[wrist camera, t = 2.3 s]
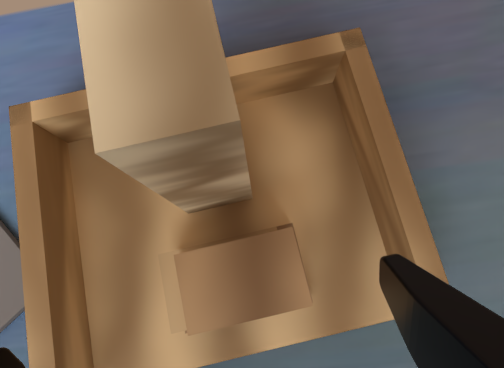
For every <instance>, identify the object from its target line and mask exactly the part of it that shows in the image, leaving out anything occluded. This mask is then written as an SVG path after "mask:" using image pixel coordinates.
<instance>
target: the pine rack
mask: <svg viewBox="0 0 504 368" xmlns="http://www.w3.org/2000/svg"><path fill="white" fill-rule="evenodd" d="M225 59H226V63H227V67H228V71H229V75H230V80H231V84H232V88H233V92H234V96H235V100H236V105H237V109H238V113H239V117H240V122H241V128H242V134H243V140H244V147H245V153H246V159H247V165H248V172H249V178H250V184H251V190H252V197H253V199H249V200H245V201H241V202H236V203H232V204H228V205H224V206H219V207H215V208H211V209H206V210H202V211H198V212H194V213H189V214H188V213H187V212H185V211H184V210H182V209H181V208H179V207H178V206H176V205H174V204H173V203H171V202H170V201H168V200H167V199H165V198H164V197H162V196H160V195H159V194H157V193H156V192H154V191H153V190H151V189H149V188H148V187H146V186H145V185H143V184H142V183H140V182H139V181H137V180H135V179H134V178H132V177H131V176H129V175H128V174H126V173H125V172H123V171H121V170H120V169H118V168H117V167H115V166H114V165H112V164H111V163H109V162H107V161H106V160H104V159H103V158H101V157H100V156H98V155H97V154H95V151H94V144H93V136H92V129H91V122H90V114H89V107H88V100H87V92H86V89H85V90H80V91H76V92H71V93H67V94H63V95H58V96H54V97H49V98H45V99H40V100H36V101H32V102H27V103H23V104H18V105H14V106H9V116H10V129H11V142H12V154H13V167H14V180H15V192H16V205H17V217H18V230H19V243H20V255H21V268H22V281H23V293H24V306H25V318H26V331H27V344H28V356H29V368H197V367H201V366H206V365H210V364H214V363H218V362H222V361H226V360H230V359H234V358H238V357H242V356H247V355H251V354H255V353H259V352H263V351H267V350H271V349H275V348H279V347H284V346H288V345H292V344H296V343H300V342H304V341H308V340H312V339H316V338H321V337H325V336H329V335H333V334H337V333H341V332H345V331H349V330H353V329H357V328H362V327H366V326H370V325H374V324H378V323H382V322H386V321H390V320H394V317H393V315H392V312H391V310H390V308H389V306H388V303H387V301H386V299H385V296H384V294H383V292H382V290H381V287H380V283H379V264H380V258H381V257H383V256H387V255H391V254H400V255H401V256H403V257H405V258H406V259H408V260H410V261H411V262H413V263H414V264H416V265H418V266H419V267H421V268H423V269H424V270H426V271H427V272H429V273H431V274H432V275H434V276H436V277H437V278H439V279H440V280H442V281H444V282H445V283H447V284H449V283H448V280H447V277H446V275H445V272H444V269H443V266H442V263H441V260H440V257H439V254H438V251H437V249H436V246H435V243H434V240H433V237H432V234H431V231H430V228H429V226H428V223H427V220H426V217H425V214H424V211H423V208H422V205H421V202H420V200H419V197H418V194H417V191H416V188H415V185H414V182H413V179H412V176H411V174H410V171H409V168H408V165H407V162H406V159H405V156H404V153H403V151H402V148H401V145H400V142H399V139H398V136H397V133H396V130H395V127H394V125H393V122H392V119H391V116H390V113H389V110H388V107H387V104H386V102H385V99H384V96H383V93H382V90H381V87H380V84H379V81H378V78H377V76H376V73H375V70H374V67H373V64H372V61H371V58H370V55H369V53H368V50H367V47H366V44H365V41H364V38H363V35H362V32H361V29H360V28H355V29H351V30H346V31H342V32H338V33H333V34H329V35H324V36H320V37H315V38H311V39H307V40H302V41H298V42H293V43H289V44H284V45H280V46H275V47H271V48H267V49H262V50H258V51H253V52H249V53H244V54H240V55H236V56H231V57H227V58H225ZM289 223H293V227H294V231H295V235H296V238H297V242H298V246H299V250H300V254H301V258H302V262H303V266H304V269H305V273H306V277H307V281H308V285H309V289H310V293H311V297H312V300H313V303H312V304H313V306H311V307H307V308H302V309H298V310H294V311H290V312H286V313H282V314H278V315H273V316H269V317H265V318H261V319H257V320H253V321H249V322H244V323H240V324H236V325H232V326H228V327H224V328H220V329H215V330H211V331H207V332H203V333H199V334H195V335H191V336H188V334H187V333H186V334H185V331H182V332H178V333H174V334H171V331H170V325H169V319H168V313H167V307H166V301H165V295H164V289H163V283H162V277H161V271H160V265H159V259H158V254H162V253H166V252H170V251H175V250H179V249H183V248H187V247H192V246H196V245H200V244H204V243H209V242H213V241H217V240H221V239H225V238H230V237H234V236H238V235H242V234H247V233H251V232H255V231H259V230H264V229H268V228H272V227H277V226H281V225H285V224H289Z"/></svg>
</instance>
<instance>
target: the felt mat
mask: <svg viewBox="0 0 504 368" xmlns="http://www.w3.org/2000/svg"><path fill="white" fill-rule="evenodd" d="M24 310H25V306H24V293H23V281H22V268H21V255H20V243H19V242H18V241H17V239H16V238H15V237H14V236H13V235H12V233H11V232H10V231H9V230H8V229H7V227H6V226H5V225H4V224H3V222H2V221H1V220H0V333H1V332H2V331H3V330H4V329H5V328H6V327H7V326H8V325H9V324H10V323H11V322H12V321H14V320H15V319H16V318H17V317H18V316H19V315H20V314H21V313H22V312H23V311H24Z"/></svg>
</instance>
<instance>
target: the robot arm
mask: <svg viewBox="0 0 504 368" xmlns="http://www.w3.org/2000/svg"><path fill="white" fill-rule="evenodd" d="M379 283H380V287H381V290H382V292H383V294H384V296H385V299H386V301H387V303H388V306H389V308H390V310H391V312H392V315H393V317H394V319H395V321H396V324H397V326H398V328H399V330H400V333H401V335H402V337H403V339H404V342H405V344H406V346H407V348H408V350H409V352H410V354H411V356H412V358H413V359H414V361H415V363H416V365H417V366H418V368H504V318H502V317H501V316H499V315H497V314H496V313H494V312H492V311H491V310H489V309H488V308H486V307H484V306H483V305H481V304H479V303H478V302H476V301H475V300H473V299H471V298H470V297H468V296H466V295H465V294H463V293H462V292H460V291H458V290H457V289H455V288H453V287H452V286H450V285H449V284H447V283H445V282H444V281H442V280H440V279H439V278H437V277H436V276H434V275H432V274H431V273H429V272H427V271H426V270H424V269H423V268H421V267H419V266H418V265H416V264H414V263H413V262H411V261H410V260H408V259H406V258H405V257H403V256H401V255H400V254H391V255H387V256H383V257H381V258H380V264H379ZM0 368H25V366H24V365H23V363H22V362H21V361H20V360H19V359H18V358H17V357H16V356H15V355H14V354H13V353H12V352H11V351H10V350H9V349H7V348H4V347H2V348H0Z"/></svg>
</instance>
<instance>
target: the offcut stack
mask: <svg viewBox="0 0 504 368" xmlns="http://www.w3.org/2000/svg"><path fill="white" fill-rule="evenodd" d="M158 259H159V265H160V271H161V277H162V283H163V289H164V295H165V301H166V307H167V313H168V319H169V325H170V331H171V334H174V333H178V332H182V331H185V334H186V333H187V334H188V336H191V335H195V334H199V333H203V332H207V331H211V330H215V329H220V328H224V327H228V326H232V325H236V324H240V323H244V322H249V321H253V320H257V319H261V318H265V317H269V316H273V315H278V314H282V313H286V312H290V311H294V310H298V309H302V308H307V307H311V306H313V304H312V303H313V300H312V297H311V293H310V289H309V285H308V281H307V277H306V273H305V269H304V266H303V262H302V258H301V254H300V250H299V246H298V242H297V238H296V235H295V231H294V227H293V223H289V224H285V225H281V226H277V227H272V228H268V229H264V230H259V231H255V232H251V233H247V234H242V235H238V236H234V237H230V238H225V239H221V240H217V241H213V242H209V243H204V244H200V245H196V246H192V247H187V248H183V249H179V250H175V251H170V252H166V253H162V254H158Z"/></svg>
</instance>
